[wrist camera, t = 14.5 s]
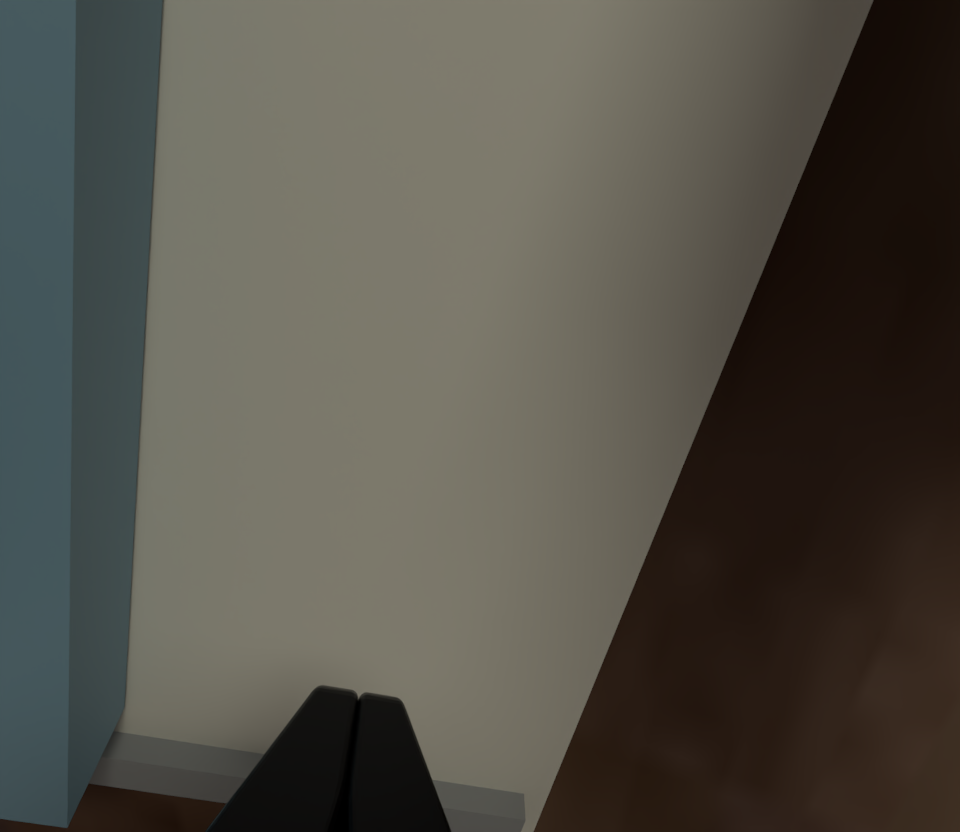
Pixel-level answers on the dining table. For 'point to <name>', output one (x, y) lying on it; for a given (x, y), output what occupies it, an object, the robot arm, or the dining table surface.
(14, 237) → the vise free jaw
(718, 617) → the dining table surface
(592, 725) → the dining table surface
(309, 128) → the vise bed
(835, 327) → the dining table surface
